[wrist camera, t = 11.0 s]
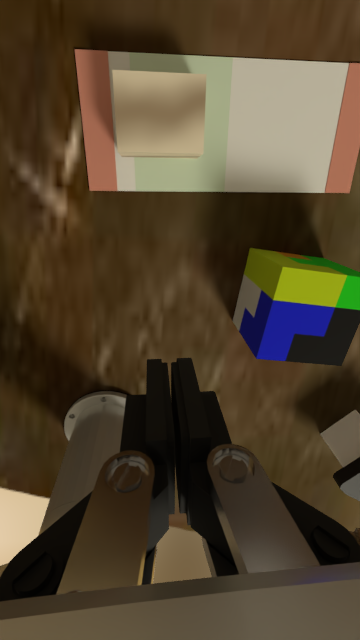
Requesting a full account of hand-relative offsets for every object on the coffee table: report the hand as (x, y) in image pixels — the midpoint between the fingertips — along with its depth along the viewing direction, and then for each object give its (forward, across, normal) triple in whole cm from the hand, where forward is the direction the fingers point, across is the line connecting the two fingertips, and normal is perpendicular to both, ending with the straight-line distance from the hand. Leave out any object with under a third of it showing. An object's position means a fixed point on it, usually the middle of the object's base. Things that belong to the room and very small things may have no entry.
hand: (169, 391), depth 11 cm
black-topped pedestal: (+28, -33, +32) cm, 54 cm away
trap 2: (+27, +6, -13) cm, 30 cm away
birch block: (+27, -1, -14) cm, 30 cm away
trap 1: (+27, -21, -13) cm, 37 cm away
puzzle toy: (+27, -16, +5) cm, 32 cm away
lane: (+27, -8, -13) cm, 31 cm away
